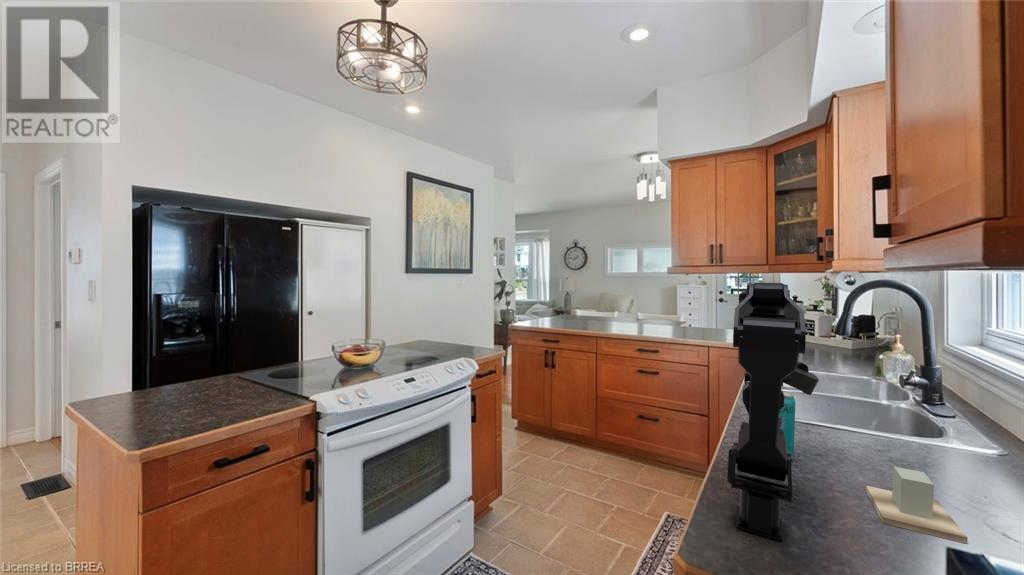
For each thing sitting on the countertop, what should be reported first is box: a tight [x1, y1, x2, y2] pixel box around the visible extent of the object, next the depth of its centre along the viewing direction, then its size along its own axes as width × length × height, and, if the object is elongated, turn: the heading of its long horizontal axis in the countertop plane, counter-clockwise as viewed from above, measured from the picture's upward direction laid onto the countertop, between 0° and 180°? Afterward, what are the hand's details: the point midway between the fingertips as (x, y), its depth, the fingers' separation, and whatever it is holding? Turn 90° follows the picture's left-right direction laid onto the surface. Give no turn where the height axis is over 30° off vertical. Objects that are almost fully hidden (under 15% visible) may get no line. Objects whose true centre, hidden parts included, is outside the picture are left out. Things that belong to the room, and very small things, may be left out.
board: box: [865, 485, 969, 544], centre depth 71 cm, size 12×10×1 cm
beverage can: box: [778, 389, 796, 459], centre depth 93 cm, size 6×6×15 cm
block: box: [891, 466, 935, 520], centre depth 71 cm, size 5×4×6 cm
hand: (760, 429), depth 78 cm, fingers open, 9 cm apart
